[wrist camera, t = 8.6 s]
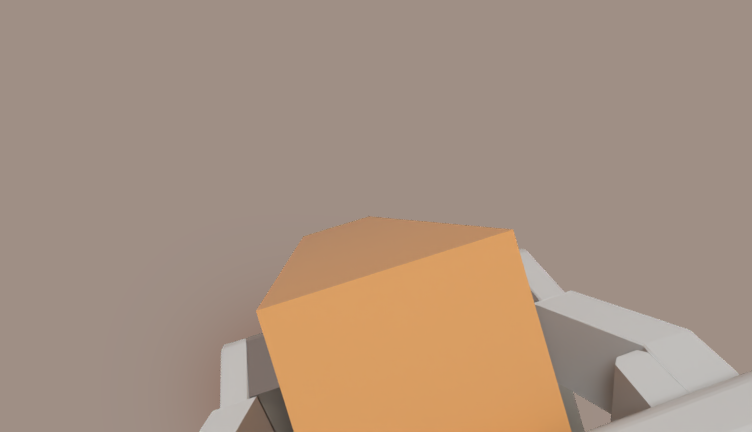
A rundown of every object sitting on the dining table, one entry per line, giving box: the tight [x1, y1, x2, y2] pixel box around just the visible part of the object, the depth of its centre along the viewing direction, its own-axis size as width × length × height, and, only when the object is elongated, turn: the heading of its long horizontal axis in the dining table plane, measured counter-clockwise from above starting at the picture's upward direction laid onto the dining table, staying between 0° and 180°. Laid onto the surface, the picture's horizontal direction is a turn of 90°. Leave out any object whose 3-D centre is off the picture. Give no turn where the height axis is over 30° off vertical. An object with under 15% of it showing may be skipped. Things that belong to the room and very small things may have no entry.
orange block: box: [256, 216, 572, 432], centre depth 17 cm, size 4×20×4 cm, turn 7°
